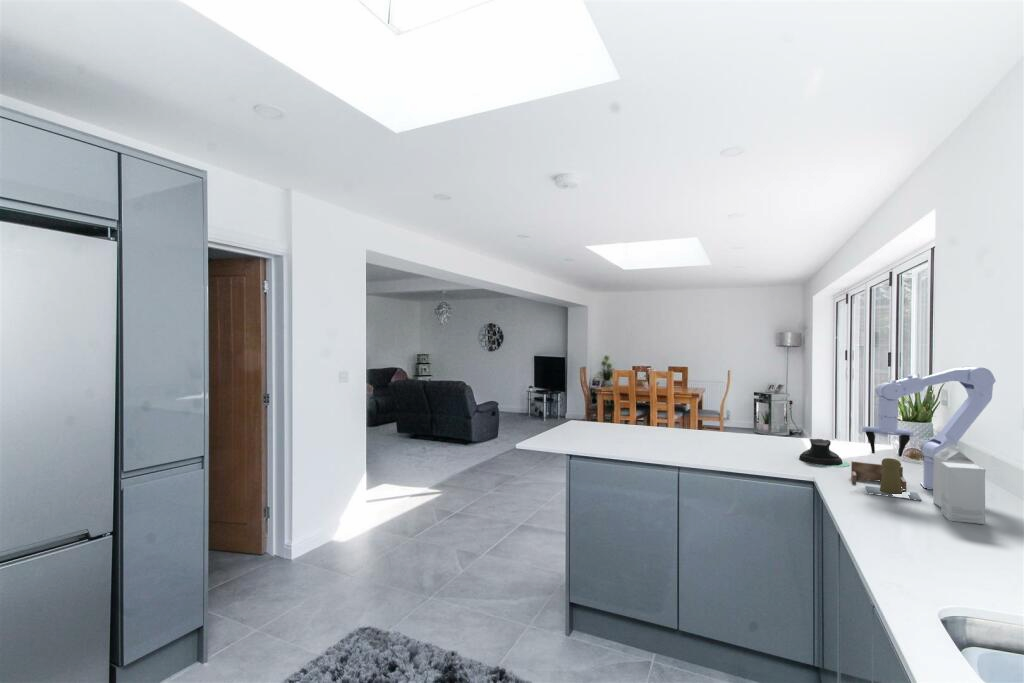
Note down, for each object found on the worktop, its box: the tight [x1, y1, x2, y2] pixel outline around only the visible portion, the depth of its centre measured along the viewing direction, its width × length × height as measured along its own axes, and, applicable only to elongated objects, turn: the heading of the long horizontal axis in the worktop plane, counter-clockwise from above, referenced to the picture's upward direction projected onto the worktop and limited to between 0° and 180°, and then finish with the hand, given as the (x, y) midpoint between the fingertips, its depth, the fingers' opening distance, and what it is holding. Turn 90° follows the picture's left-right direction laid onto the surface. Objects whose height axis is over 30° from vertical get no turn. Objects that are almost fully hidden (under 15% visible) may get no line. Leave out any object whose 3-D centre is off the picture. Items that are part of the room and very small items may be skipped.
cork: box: [879, 457, 903, 494], centre depth 166 cm, size 6×6×11 cm
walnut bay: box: [850, 461, 907, 490], centre depth 177 cm, size 15×10×6 cm, turn 58°
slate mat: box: [865, 485, 923, 501], centre depth 165 cm, size 14×9×1 cm, turn 58°
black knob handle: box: [798, 438, 851, 468], centre depth 210 cm, size 20×20×9 cm
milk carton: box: [932, 443, 975, 508], centre depth 151 cm, size 7×7×19 cm
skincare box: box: [940, 462, 986, 525], centre depth 141 cm, size 8×7×16 cm
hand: (886, 454), depth 177 cm, fingers open, 7 cm apart
